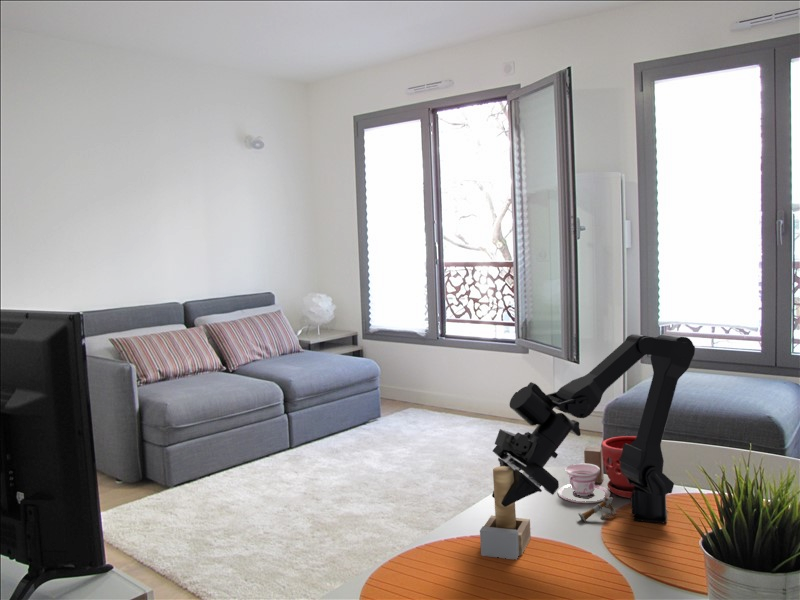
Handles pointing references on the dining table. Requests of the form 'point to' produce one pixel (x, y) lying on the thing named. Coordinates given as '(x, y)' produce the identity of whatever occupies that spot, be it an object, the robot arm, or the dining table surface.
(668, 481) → the robot arm
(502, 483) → the dowel
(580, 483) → the teacup
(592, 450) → the wooden block
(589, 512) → the brown and silver rod
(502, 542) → the wall
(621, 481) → the plant pot
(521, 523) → the socket block
